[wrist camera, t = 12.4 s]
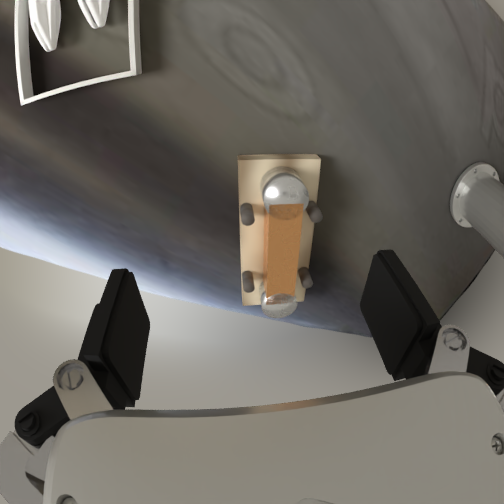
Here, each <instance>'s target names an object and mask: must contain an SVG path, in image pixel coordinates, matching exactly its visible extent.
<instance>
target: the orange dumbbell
mask: <svg viewBox="0 0 504 504" xmlns="http://www.w3.org/2000/svg"><path fill="white" fill-rule="evenodd" d="M260 191H261V195H262V199H263V202H264V260H263V281H262V282H261V284H260V286H259V293H260V299H261V305H262V311H263V313H264V314H265V315H267V316H268V317H271V318H282V317H286V316H288V315H290V314H291V313H293V312H294V310H295V309H296V307H297V300H296V296H295V286H296V277H297V268H298V258H299V249H300V239H301V228H302V217H303V212H304V211H305V209H306V208H307V206H308V203H309V193H308V190H307V188H306V187H305V185H304V183H303V182H302V180H301V178H300V177H299V175H298V174H297V172H296V171H294V170H293V169H291V168H289V167H284V166H280V167H275V168H272V169H270V170H269V171H267V172H266V173H265V174H264V176H263V177H262V179H261V182H260Z"/></svg>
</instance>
